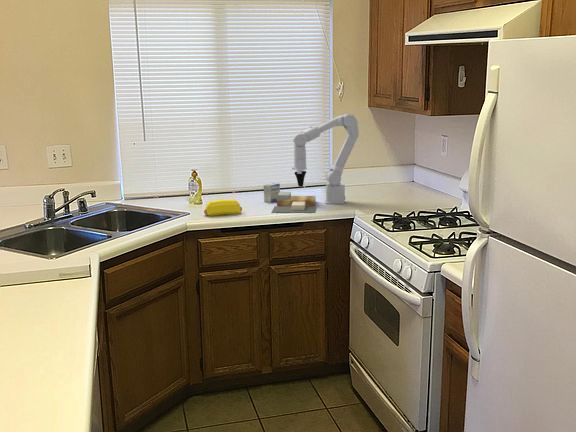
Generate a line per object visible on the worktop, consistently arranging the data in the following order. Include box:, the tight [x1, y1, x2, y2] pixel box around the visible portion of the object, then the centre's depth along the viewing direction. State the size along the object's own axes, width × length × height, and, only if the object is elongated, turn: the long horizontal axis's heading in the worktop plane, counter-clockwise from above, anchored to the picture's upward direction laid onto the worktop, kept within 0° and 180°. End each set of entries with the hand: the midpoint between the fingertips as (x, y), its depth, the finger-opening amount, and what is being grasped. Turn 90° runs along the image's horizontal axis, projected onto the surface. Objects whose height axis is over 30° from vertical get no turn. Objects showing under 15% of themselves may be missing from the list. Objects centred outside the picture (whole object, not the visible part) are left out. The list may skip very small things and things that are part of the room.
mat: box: [271, 205, 317, 214], centre depth 304 cm, size 20×14×1 cm
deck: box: [276, 195, 317, 206], centre depth 317 cm, size 18×12×3 cm, turn 85°
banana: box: [203, 199, 243, 217], centre depth 297 cm, size 18×7×8 cm
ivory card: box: [291, 202, 306, 210], centre depth 307 cm, size 6×9×2 cm, turn 174°
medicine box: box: [263, 182, 281, 204], centre depth 326 cm, size 8×4×9 cm, turn 143°
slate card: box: [278, 191, 292, 200], centre depth 318 cm, size 6×9×2 cm, turn 175°
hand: (300, 186), depth 317 cm, fingers closed
